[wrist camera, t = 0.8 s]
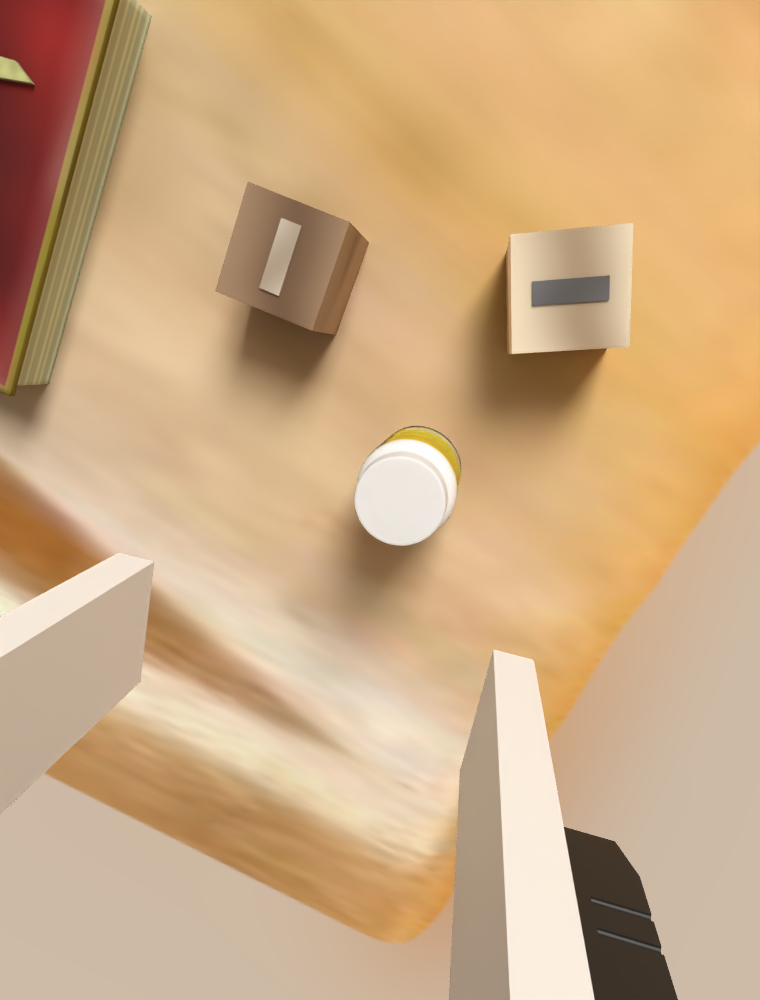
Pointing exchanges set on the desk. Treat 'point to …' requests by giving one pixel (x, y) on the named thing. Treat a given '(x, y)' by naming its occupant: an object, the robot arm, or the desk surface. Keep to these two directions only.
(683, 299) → the desk surface
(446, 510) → the supplement bottle
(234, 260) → the walnut block
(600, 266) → the beech block
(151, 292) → the desk surface
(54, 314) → the hardcover book
